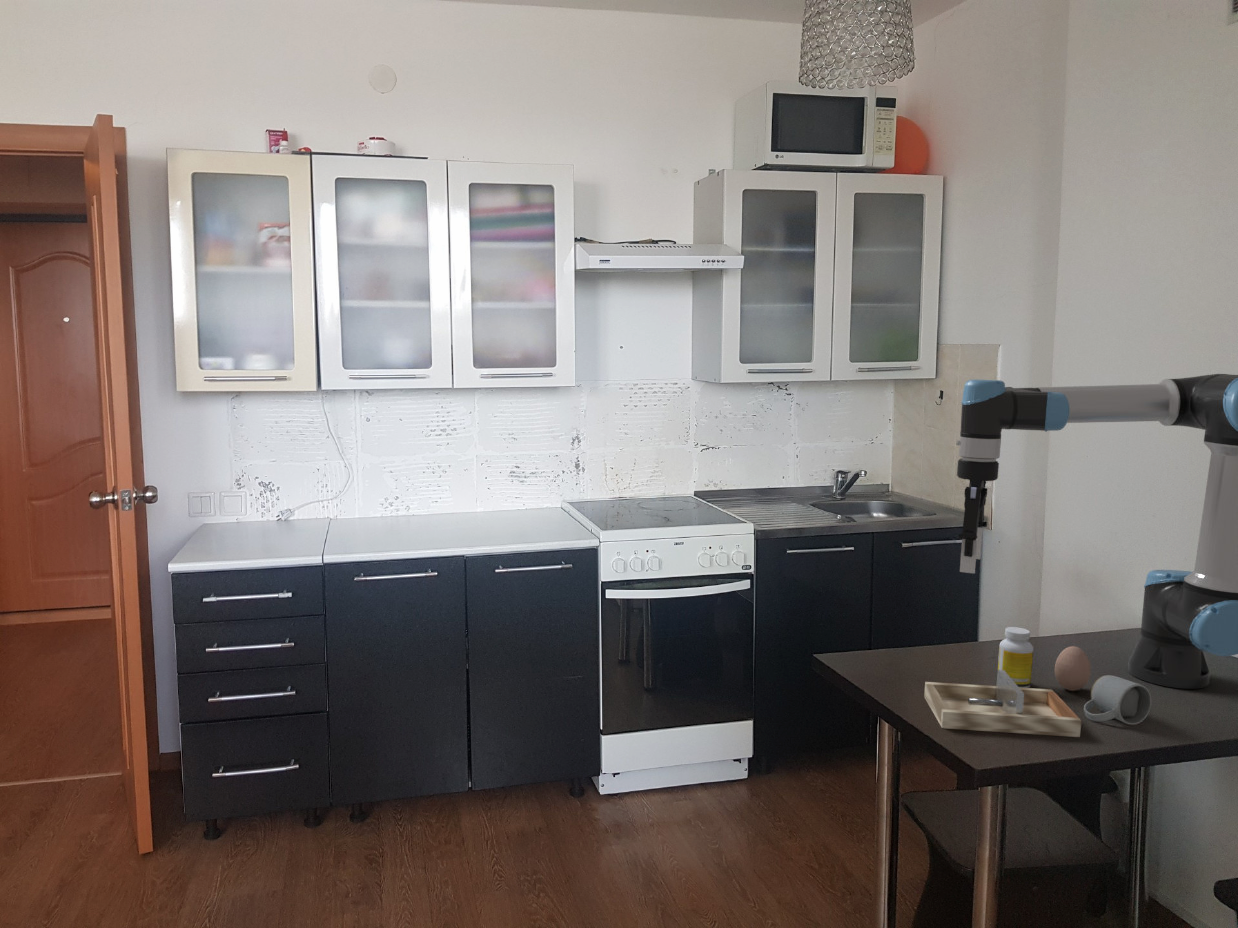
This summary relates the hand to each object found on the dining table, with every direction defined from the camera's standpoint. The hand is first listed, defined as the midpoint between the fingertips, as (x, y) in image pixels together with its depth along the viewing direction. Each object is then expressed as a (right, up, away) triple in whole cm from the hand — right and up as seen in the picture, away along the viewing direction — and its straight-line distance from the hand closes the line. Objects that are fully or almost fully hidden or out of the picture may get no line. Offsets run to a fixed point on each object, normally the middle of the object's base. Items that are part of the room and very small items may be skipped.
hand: (970, 565), depth 190 cm
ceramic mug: (+24, -28, -9) cm, 38 cm away
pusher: (0, -26, -10) cm, 28 cm away
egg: (+22, -26, +5) cm, 35 cm away
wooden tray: (+2, -27, -10) cm, 29 cm away
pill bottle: (+11, -26, +7) cm, 29 cm away
